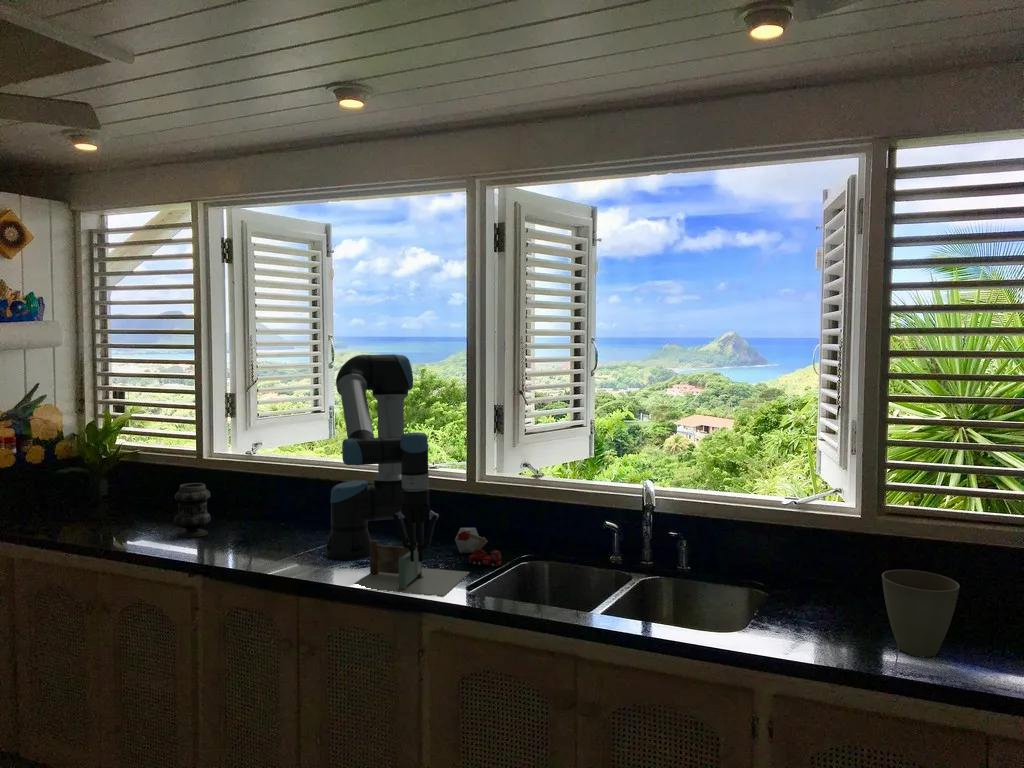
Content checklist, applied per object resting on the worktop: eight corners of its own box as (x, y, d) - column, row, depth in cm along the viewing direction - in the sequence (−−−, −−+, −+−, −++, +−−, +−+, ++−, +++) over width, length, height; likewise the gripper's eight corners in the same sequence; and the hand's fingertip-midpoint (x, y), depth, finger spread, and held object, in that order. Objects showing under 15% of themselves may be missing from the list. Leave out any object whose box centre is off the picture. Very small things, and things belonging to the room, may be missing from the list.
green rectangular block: (412, 577, 211) (412, 548, 210) (418, 578, 210) (418, 549, 210) (398, 588, 201) (398, 558, 201) (404, 589, 201) (404, 558, 200)
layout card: (349, 587, 203) (349, 586, 203) (383, 565, 225) (383, 564, 225) (443, 596, 196) (443, 595, 196) (469, 573, 217) (469, 571, 217)
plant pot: (884, 659, 157) (886, 585, 156) (876, 634, 171) (878, 566, 170) (964, 670, 152) (966, 594, 151) (950, 643, 165) (952, 573, 165)
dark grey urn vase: (218, 533, 264) (217, 483, 263) (187, 540, 254) (187, 489, 253) (197, 529, 271) (196, 480, 270) (167, 535, 261) (166, 485, 260)
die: (470, 559, 235) (486, 533, 237) (447, 544, 236) (464, 519, 239) (471, 561, 242) (486, 536, 245) (449, 547, 244) (465, 522, 246)
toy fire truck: (498, 567, 223) (498, 536, 223) (457, 563, 228) (457, 532, 227) (502, 564, 226) (502, 533, 226) (461, 560, 231) (461, 530, 231)
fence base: (368, 575, 215) (368, 541, 214) (372, 573, 217) (372, 539, 217) (419, 579, 211) (419, 545, 210) (422, 577, 213) (422, 543, 213)
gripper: (389, 491, 200) (391, 576, 201) (433, 491, 198) (436, 577, 199) (397, 486, 208) (400, 568, 209) (441, 486, 205) (443, 569, 206)
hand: (417, 572), depth 204 cm, fingers closed
